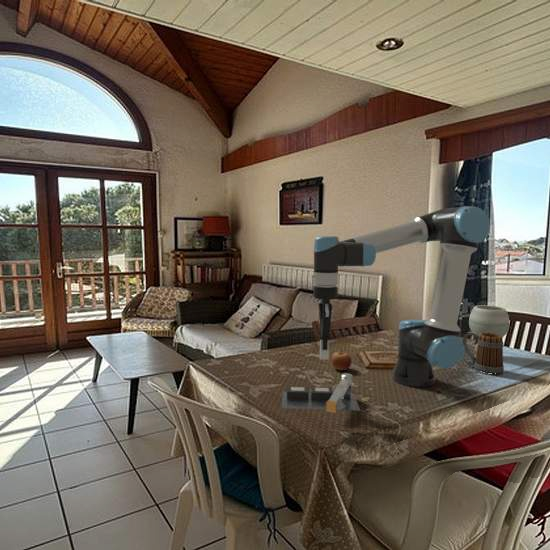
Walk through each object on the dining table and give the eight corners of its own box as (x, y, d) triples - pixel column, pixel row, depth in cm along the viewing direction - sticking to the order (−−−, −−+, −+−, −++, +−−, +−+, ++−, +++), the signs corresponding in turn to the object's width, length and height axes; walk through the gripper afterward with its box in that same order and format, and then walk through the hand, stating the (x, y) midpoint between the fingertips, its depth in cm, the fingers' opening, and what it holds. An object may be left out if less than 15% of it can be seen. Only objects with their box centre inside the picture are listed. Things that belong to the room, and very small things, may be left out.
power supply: (331, 394, 133) (331, 386, 132) (333, 400, 128) (333, 392, 127) (310, 393, 133) (311, 386, 133) (311, 399, 128) (311, 392, 128)
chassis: (353, 396, 133) (354, 382, 133) (360, 414, 120) (360, 397, 120) (282, 394, 134) (282, 380, 134) (281, 412, 122) (281, 395, 121)
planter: (513, 357, 178) (517, 308, 176) (495, 363, 169) (499, 312, 167) (478, 348, 192) (481, 303, 189) (459, 354, 183) (462, 306, 180)
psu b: (307, 393, 133) (308, 386, 133) (308, 399, 128) (308, 392, 128) (287, 392, 133) (287, 385, 133) (286, 399, 128) (287, 391, 128)
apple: (336, 364, 166) (337, 346, 165) (354, 368, 162) (354, 349, 161) (327, 370, 160) (328, 350, 159) (345, 374, 155) (346, 354, 154)
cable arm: (342, 381, 132) (342, 372, 131) (353, 383, 130) (353, 374, 130) (324, 412, 109) (324, 401, 109) (337, 414, 108) (337, 403, 107)
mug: (506, 370, 161) (509, 334, 159) (499, 377, 153) (502, 339, 151) (465, 362, 171) (467, 328, 170) (457, 368, 164) (459, 332, 162)
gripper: (312, 282, 130) (310, 352, 133) (315, 288, 117) (314, 365, 120) (334, 283, 130) (333, 352, 132) (340, 288, 117) (338, 365, 120)
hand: (324, 358), depth 126 cm, fingers closed
